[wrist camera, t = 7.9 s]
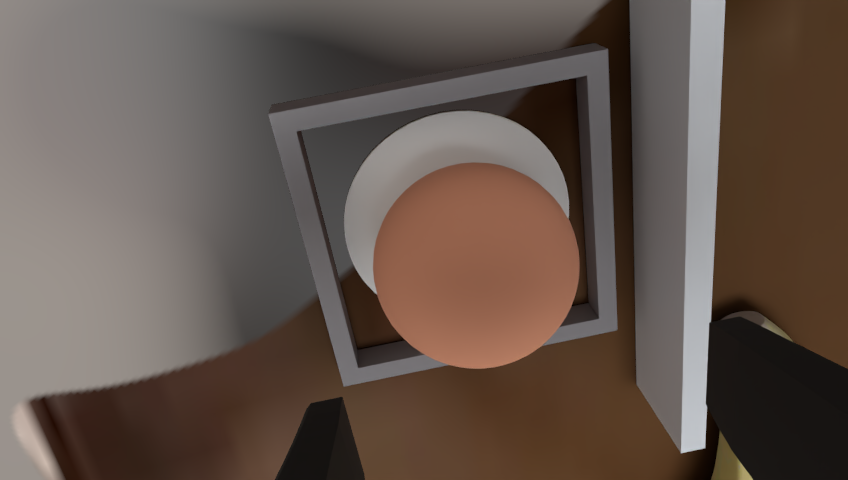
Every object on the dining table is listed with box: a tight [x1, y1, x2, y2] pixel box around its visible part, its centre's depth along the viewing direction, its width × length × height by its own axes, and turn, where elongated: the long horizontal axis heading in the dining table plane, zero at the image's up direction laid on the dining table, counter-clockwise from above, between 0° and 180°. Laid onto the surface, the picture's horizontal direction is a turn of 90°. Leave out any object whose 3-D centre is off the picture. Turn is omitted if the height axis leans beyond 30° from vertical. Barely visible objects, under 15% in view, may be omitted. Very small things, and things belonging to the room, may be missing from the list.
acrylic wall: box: [629, 0, 725, 453], centre depth 19 cm, size 16×1×4 cm, turn 9°
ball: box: [373, 162, 580, 369], centre depth 18 cm, size 6×6×6 cm
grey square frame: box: [268, 43, 617, 386], centre depth 20 cm, size 9×9×1 cm
